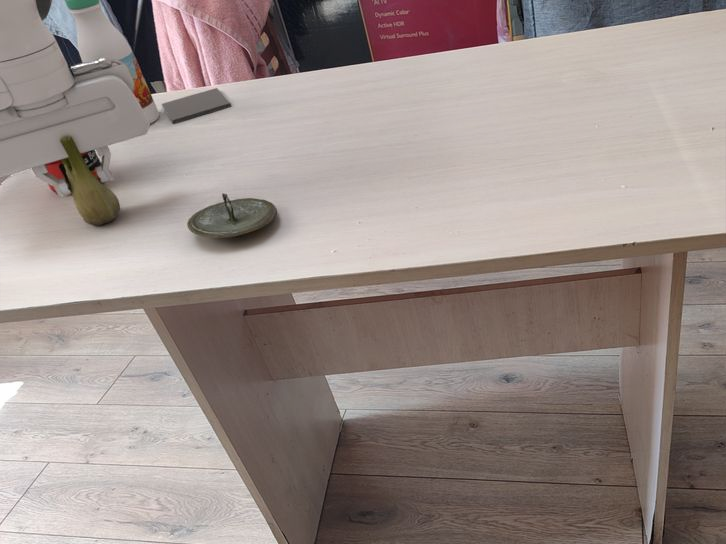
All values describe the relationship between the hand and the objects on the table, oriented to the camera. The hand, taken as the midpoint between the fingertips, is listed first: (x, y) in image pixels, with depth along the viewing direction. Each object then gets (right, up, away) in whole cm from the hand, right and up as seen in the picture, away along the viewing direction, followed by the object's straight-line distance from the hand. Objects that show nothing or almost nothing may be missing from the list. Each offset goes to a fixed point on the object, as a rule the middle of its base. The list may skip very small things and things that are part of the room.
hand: (86, 187), depth 85 cm
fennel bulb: (+1, -4, +3) cm, 5 cm away
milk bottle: (-8, +18, +30) cm, 36 cm away
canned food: (-8, +4, +13) cm, 16 cm away
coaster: (+1, +22, +32) cm, 38 cm away
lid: (+20, -6, -3) cm, 21 cm away
